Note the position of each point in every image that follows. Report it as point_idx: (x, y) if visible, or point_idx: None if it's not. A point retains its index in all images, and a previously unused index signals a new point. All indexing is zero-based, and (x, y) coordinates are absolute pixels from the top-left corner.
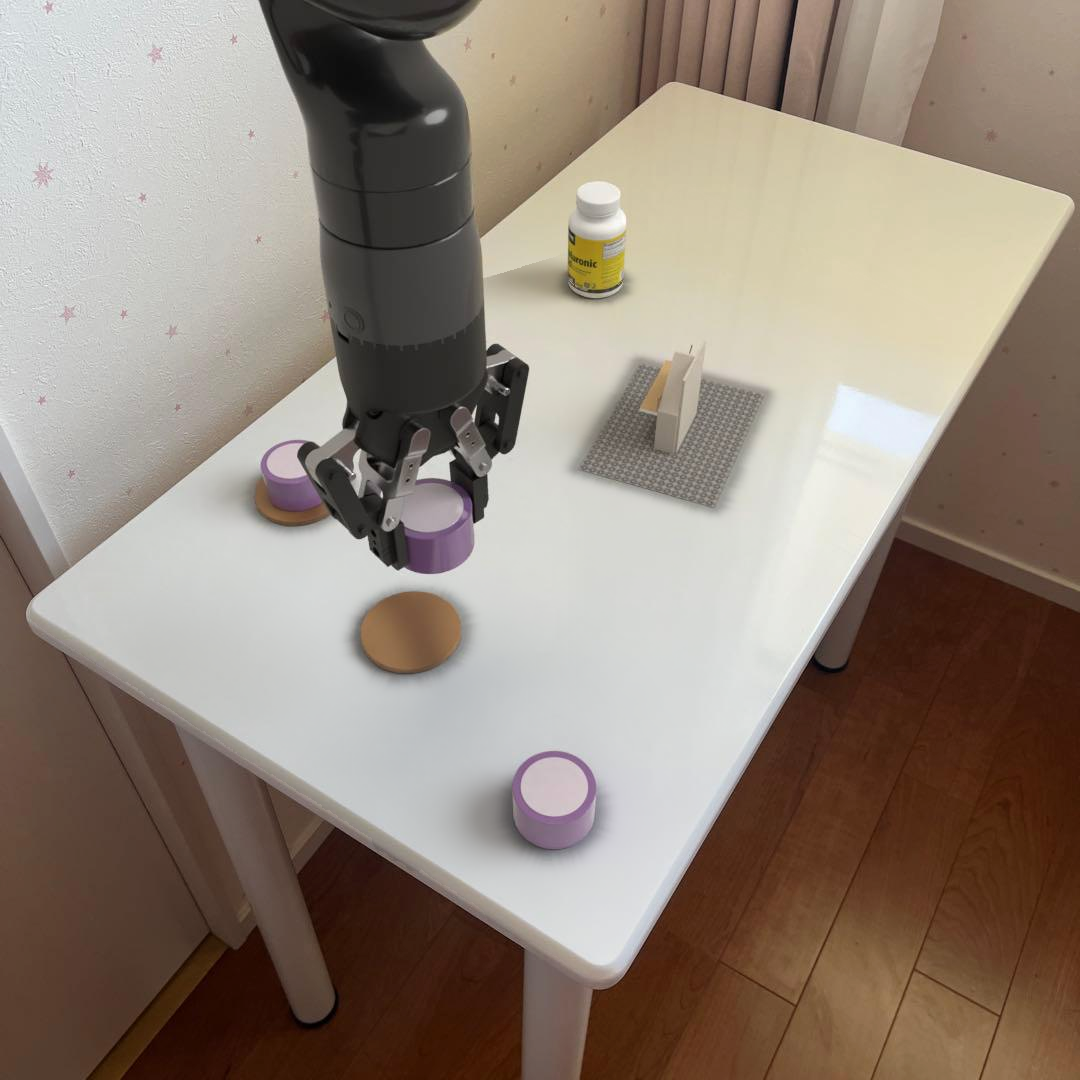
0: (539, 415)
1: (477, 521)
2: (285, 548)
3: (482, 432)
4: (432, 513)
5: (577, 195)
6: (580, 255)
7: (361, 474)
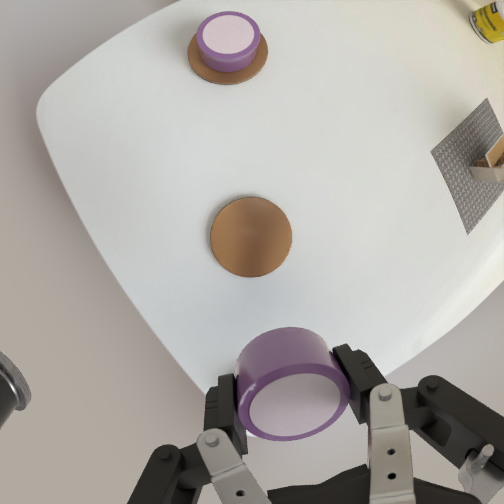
0: (428, 87)
1: None
2: (192, 101)
3: (420, 414)
4: (294, 417)
5: None
6: (492, 19)
7: (211, 476)
